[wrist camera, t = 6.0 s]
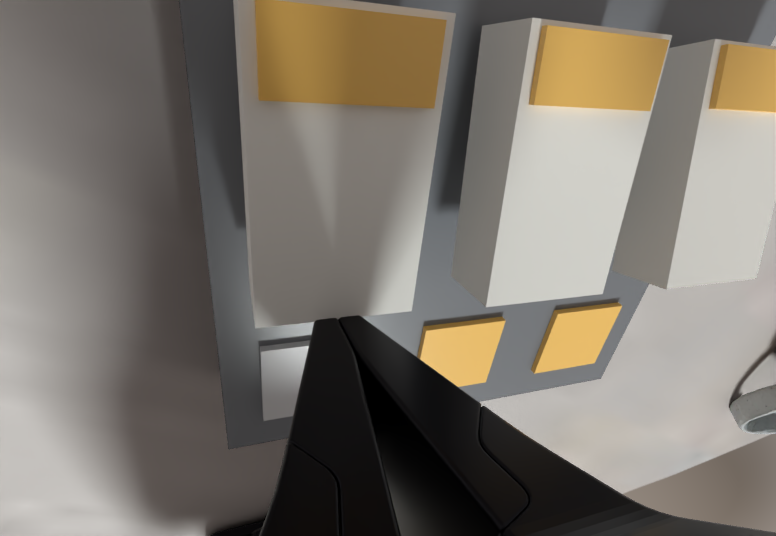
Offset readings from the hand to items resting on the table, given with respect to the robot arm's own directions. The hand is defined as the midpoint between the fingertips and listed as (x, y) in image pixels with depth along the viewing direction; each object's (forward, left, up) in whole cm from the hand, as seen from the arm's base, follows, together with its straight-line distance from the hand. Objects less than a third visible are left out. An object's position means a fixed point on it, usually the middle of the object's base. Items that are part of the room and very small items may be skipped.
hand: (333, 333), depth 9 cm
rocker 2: (+3, -4, -1) cm, 5 cm away
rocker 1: (+3, 0, -1) cm, 3 cm away
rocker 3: (+3, -9, -1) cm, 10 cm away
